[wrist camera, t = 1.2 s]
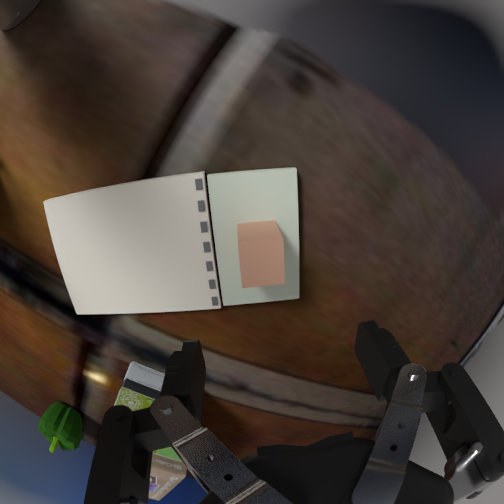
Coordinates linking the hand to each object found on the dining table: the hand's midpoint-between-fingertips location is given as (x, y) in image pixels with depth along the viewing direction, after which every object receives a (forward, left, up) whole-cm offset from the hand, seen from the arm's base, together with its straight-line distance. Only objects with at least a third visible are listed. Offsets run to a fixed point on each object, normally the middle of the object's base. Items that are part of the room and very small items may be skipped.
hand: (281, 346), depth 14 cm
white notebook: (0, -13, -16) cm, 21 cm away
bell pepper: (+30, -37, -16) cm, 51 cm away
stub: (0, 0, -16) cm, 16 cm away
